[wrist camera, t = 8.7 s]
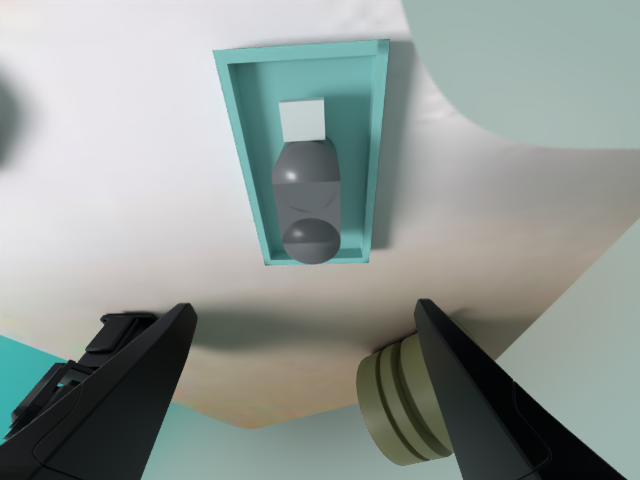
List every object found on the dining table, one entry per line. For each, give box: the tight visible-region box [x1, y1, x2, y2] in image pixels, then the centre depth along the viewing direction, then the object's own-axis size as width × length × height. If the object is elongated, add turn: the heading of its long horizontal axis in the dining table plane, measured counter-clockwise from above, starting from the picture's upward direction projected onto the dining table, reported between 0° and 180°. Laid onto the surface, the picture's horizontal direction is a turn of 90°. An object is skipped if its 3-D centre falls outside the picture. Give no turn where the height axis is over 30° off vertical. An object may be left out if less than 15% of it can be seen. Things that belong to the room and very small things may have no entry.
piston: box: [356, 318, 479, 466], centre depth 28 cm, size 11×12×11 cm
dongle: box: [272, 97, 341, 264], centre depth 17 cm, size 10×4×4 cm, turn 3°
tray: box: [213, 39, 390, 265], centre depth 18 cm, size 15×9×2 cm, turn 3°
